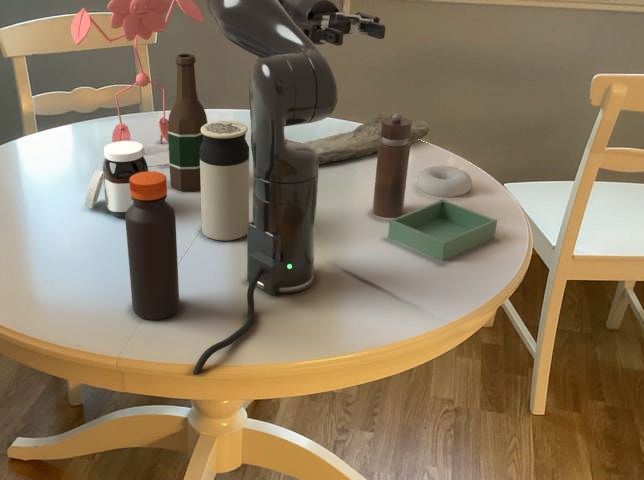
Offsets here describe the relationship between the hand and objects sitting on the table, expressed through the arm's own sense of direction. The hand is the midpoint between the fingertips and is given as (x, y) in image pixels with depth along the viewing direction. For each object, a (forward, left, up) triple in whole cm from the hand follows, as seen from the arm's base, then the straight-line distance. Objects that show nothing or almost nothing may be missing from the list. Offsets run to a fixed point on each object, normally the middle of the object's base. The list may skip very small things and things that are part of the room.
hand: (362, 35), depth 141 cm
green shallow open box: (-3, -23, -28) cm, 37 cm away
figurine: (-17, +41, -28) cm, 53 cm away
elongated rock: (+18, +15, -28) cm, 37 cm away
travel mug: (-28, +2, -28) cm, 40 cm away
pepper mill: (-2, -11, -28) cm, 30 cm away
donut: (+14, -10, -28) cm, 33 cm away
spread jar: (-37, +22, -28) cm, 51 cm away
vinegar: (-52, -12, -28) cm, 60 cm away
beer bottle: (-20, +23, -28) cm, 42 cm away
